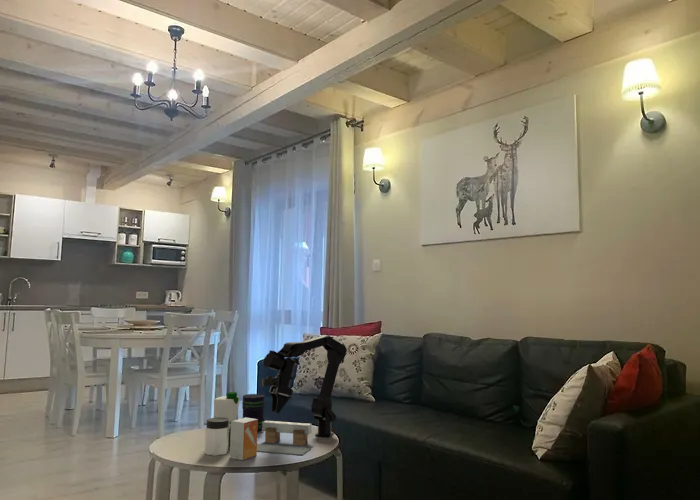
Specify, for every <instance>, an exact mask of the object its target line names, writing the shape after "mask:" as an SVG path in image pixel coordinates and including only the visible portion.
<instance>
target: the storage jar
mask: <svg viewBox="0 0 700 500" xmlns="http://www.w3.org/2000/svg"><path fill="white" fill-rule="evenodd" d="M265 397H266V396H265V394H262V393H248V394H244V395H242V404H241V405H242V406H241V407H242V418H245V417H246V418H253V419H258V430H257V433H262V432H263V431H262V422H264V421H265V416H264V415H265V414H264V413H265V407H266V406H265V403H266V401H265Z"/></svg>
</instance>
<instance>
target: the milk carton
mask: <svg viewBox="0 0 700 500" xmlns="http://www.w3.org/2000/svg"><path fill="white" fill-rule="evenodd" d="M239 404H240V396H238V393H237V392H235V391H228V392H226V396H225V395H223V396H218V397H217V398H214V399H213V409H214V410H213V418H219V417H221V418H228V419H229V441H228V448H230V437H231V421H234V420H237V419H239Z"/></svg>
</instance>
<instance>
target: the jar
mask: <svg viewBox="0 0 700 500" xmlns="http://www.w3.org/2000/svg"><path fill="white" fill-rule="evenodd" d="M204 438H205V439H204V441H205V442H204V443H205V444H204V455H208V456H212V457H213V456H214V457H215V456H223V455H226V454H227V453H228V452H229V447H228V441H229V419H228V418H221V417H219V418H214V417H211V418H207V419H206V426H205V437H204Z"/></svg>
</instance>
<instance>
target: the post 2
mask: <svg viewBox="0 0 700 500" xmlns="http://www.w3.org/2000/svg"><path fill="white" fill-rule="evenodd" d="M308 437H309V435H306V434H303V431H301V430H293V433H292V445H293V446H304V445H305V444H307V443H308V442H309V441H308ZM306 442H307V443H306ZM303 444H304V445H303Z"/></svg>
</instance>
